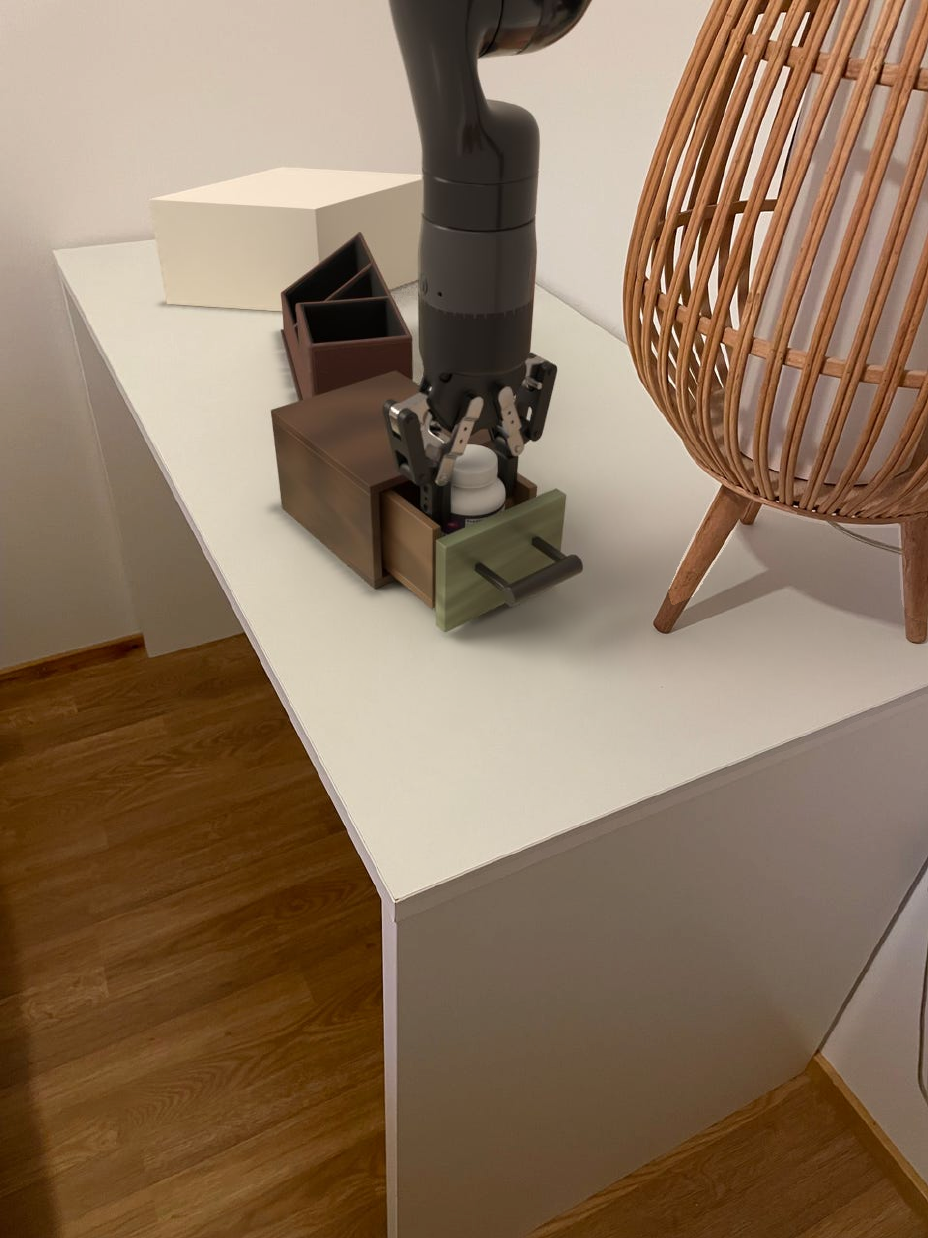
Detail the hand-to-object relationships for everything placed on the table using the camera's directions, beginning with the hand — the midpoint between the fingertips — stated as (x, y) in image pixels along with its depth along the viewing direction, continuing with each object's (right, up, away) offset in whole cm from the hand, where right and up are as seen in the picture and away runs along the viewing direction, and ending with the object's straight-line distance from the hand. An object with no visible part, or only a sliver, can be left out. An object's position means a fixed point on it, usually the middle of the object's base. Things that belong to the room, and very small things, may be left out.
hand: (469, 506), depth 73 cm
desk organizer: (-13, +16, +31) cm, 38 cm away
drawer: (0, -5, +4) cm, 7 cm away
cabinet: (-7, 0, +11) cm, 13 cm away
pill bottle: (0, -4, +4) cm, 6 cm away
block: (-21, +34, +52) cm, 65 cm away
